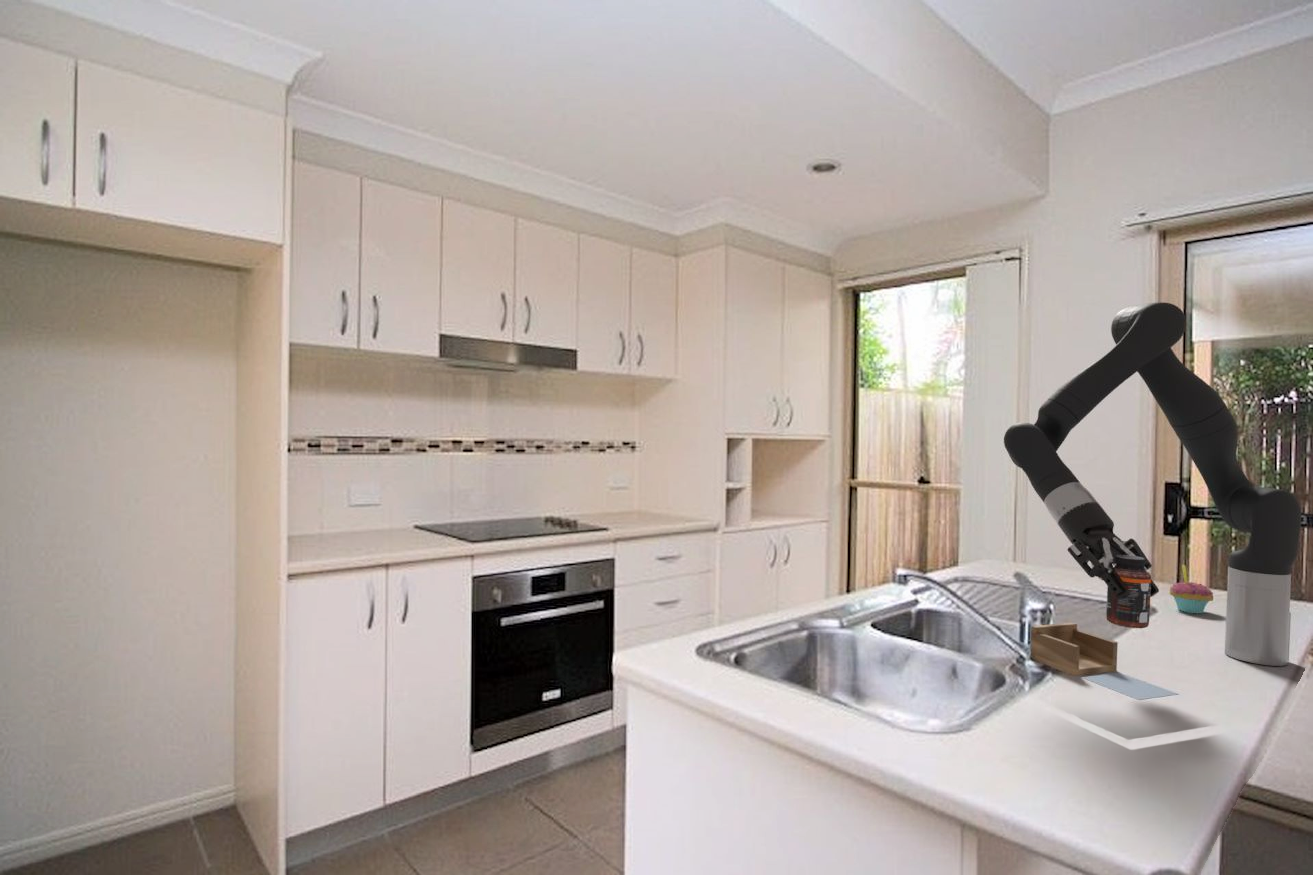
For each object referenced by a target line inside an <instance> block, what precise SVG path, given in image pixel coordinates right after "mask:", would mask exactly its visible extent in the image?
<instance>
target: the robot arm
mask: <svg viewBox="0 0 1313 875" xmlns="http://www.w3.org/2000/svg"><path fill="white" fill-rule="evenodd" d="M1186 318H1187V317H1186V316H1185V313H1184V311H1183V310H1182V309H1181V308H1180V307H1179V306H1177V305H1175V304H1173V303H1172V302H1171V303H1169V302H1162V301H1161V302H1160V301H1157V302H1149V303H1144V304H1138V305H1132V306H1128V307H1125V308H1124V309H1121V310H1120V311H1118V312H1117V313H1116V315H1115V316H1114V317H1113V319H1112V321H1111V322H1112V323H1111V325H1110V326H1111V327H1110V331H1111V333H1110V334H1111V337H1112V339H1113V341H1114V344H1115V346H1114V347H1112V348H1111V349H1110V350H1109V351H1108V352H1107V353H1106V354H1104V355H1103V356H1102V357H1100V358H1099V359H1098V360H1095V361H1094V362H1093V363H1091V364H1090V365H1088V366H1087V367H1085V368H1084V369H1082V370H1080V371H1079V372H1077V373H1076V374H1074V375H1073V376H1072V377H1071V378H1069V379H1067V381H1065V382H1064V383H1063V384H1062V385H1061V386H1060V387H1058V389H1056V390H1055V392H1054V393H1053V394H1051V395H1050V397H1049V398H1047V400H1045V401H1044V402H1043V404H1041V406H1040V407H1039V409H1038V412H1037V419H1036V421H1035V422H1034V424H1033V423H1030V422H1017V423H1015V424H1013V425H1011V426H1010V427H1009V428H1007V430H1006V431H1005V433H1004V437H1003V444H1004V448H1005V449H1006V452H1007V453H1008V456H1009V457H1010V459H1011V461H1012V463H1013V464H1014V465H1015V466H1016V467H1018V468H1020V469H1022V471H1023V472H1024V474H1026V477H1028V480H1029V482H1030V484H1031V487H1032V488H1033V490H1034V491H1035V493H1036V494H1037V495H1038V497H1039V498H1040V499H1041V501H1042V502H1043V503H1044V506H1045V507H1046V508H1047V510H1048V512H1049V514H1050V516H1051V517H1052V518H1053V520H1054V521H1055V522H1056V524H1057V525H1058V527H1059V528H1060V530H1061V531H1062V532H1063V534H1064V535H1065V537H1066V538H1067V539H1068V541H1069V542H1070V544H1071V545H1070V546H1069V547H1068V548H1067V552H1068V553H1069V554H1070V555H1071V557H1072V558H1073V559H1074V560H1075V561H1076V562H1077V564H1078V565H1079V566H1080V567H1081V568H1082V570H1083V571H1084V572H1085V573H1086V574H1087V576H1088V577H1089V578H1095V577H1096V578H1098V579H1099V580H1100V581H1103V582H1105V584H1106V586H1107V588H1108V587H1109V588H1110V590H1111V591H1112V592H1113V594H1114V595H1115V596H1116V597H1117V598H1118V599H1124V598H1125V597H1126V596H1128V595H1129V594H1130V590H1129V589H1128V588H1127V586H1126V585H1125V584H1124V582H1123V581H1122V580H1121V578H1120V577H1119V576H1118V574H1117V573H1114V572H1115V571H1114V568H1113V567H1115V565H1116V562H1115V561H1116V556H1117V555H1130V556H1137V557H1142V558H1144V559H1145V566H1144V567H1145V570H1146V571H1147V572H1148V570H1149V569H1151V568H1152V567H1153V566H1152V563H1151V562H1150V560H1149V559H1148V558H1147V556H1146V555H1145V553H1144V552H1143V550H1142V548H1141V547H1140V545H1139V543H1138V542H1137V541H1136V540H1135V539H1133V538H1129V539H1127V540H1122V539H1121V538H1120V537H1118V535H1116V534H1115V533H1114V527H1115V526H1114V525H1115V522H1114V521H1113V520H1112V519H1111V517H1110V515H1108V514H1107V512H1106V510H1105V509H1104V508H1103V507H1102V506H1101V504H1100V503H1099V501H1097V500H1096V498H1095V497H1094V495H1093V494H1092V493H1091V492H1090V491H1089V490H1088V489H1087V488H1086V486H1084V485H1083V484H1082V483H1081V482H1080V481H1079V479H1078V478H1077V477H1076V475H1075V474H1074V473H1073V472H1072V470H1071V469H1070V468H1069V467H1068V466H1067V465H1066V464H1065V462H1064V461H1063V460H1062V459H1061V457H1060V456H1059V454H1058V453H1057V451H1058V450H1059V448H1060V447H1061V446H1062V444H1063V443H1064V442H1065V440H1066V439H1067V437H1068V435H1069V434H1070V432H1071V431H1072V430H1073V429H1074V428H1075V427H1076V426H1078V424H1079V423H1080V422H1081V421H1082V420H1084V418H1086V417H1087V416H1088V415H1089V414H1090V413H1091V412H1092V411H1093V410H1094V409H1095V408H1096V407H1097V406H1098V405H1099V404H1100V403H1101V402H1102V401H1103V400H1104V399H1106V397H1108V396H1109V395H1110V394H1111V393H1112V392H1113V391H1115V390H1116V389H1117V388H1119V386H1120V385H1122V384H1123V383H1124V382H1125V381H1127V380H1128V379H1129V378H1130V377H1132V376H1133V375H1134V374H1136V373H1138V374H1139V376H1140V377H1141V378H1142V380H1143V381H1144V383H1145V385H1146V386H1147V388H1148V390H1149V392H1150V393H1151V394H1152V396H1153V398H1154V400H1155V401H1156V402H1157V404H1158V406H1159V408H1160V409H1161V411H1162V413H1163V415H1165V417H1166V419H1167V422H1168V423H1169V425H1170V427H1171V428H1172V429H1173V431H1174V433H1175V434H1176V436H1177V437H1178V439H1179V441H1180V442H1181V443H1182V445H1183V447H1184V448H1185V450H1186V451H1187V454H1189V457H1190V458H1191V460H1192V462H1193V464H1194V465H1195V467H1196V468H1197V470H1198V472H1199V474H1200V475H1201V477H1202V479H1203V481H1204V483H1205V485H1206V488H1207V489H1208V492H1209V494H1210V496H1211V498H1212V502H1213V503H1214V505H1215V507H1216V509H1217V512H1218V513H1219V515H1220V518H1221V519H1222V520H1223V522H1225V523H1226V525H1228V526H1229V527H1230V528H1231V529H1233V530H1235V531H1238V532H1240V533H1241V532H1242V533H1246V534H1250V538H1249V542H1248V545H1247V546H1246V547H1245V548H1243V549H1239V550H1235V551H1231V552H1230V553H1229V555H1228V564H1227V588H1226V589H1227V590H1226V592H1227V593H1226V609H1225V610H1226V612H1225V614H1226V615H1225V632H1224V633H1225V635H1224V654H1225V655H1227V656H1228V657H1231V658H1234V659H1236V660H1239V661H1243V662H1248V663H1252V664H1257V665H1263V666H1273V667H1279V666H1280V667H1283V666H1286V665H1288V662H1289V661H1290V644H1291V643H1290V641H1291V620H1292V617H1291V616H1292V613H1291V611H1290V607H1291V589H1292V588H1291V587H1292V586H1291V585H1292V581H1291V580H1292V569H1293V565H1294V563H1295V562H1296V559H1297V557H1298V552H1299V544H1300V535H1301V527H1302V510H1301V509H1302V508H1301V504H1300V502H1299V501H1298V500H1299V499H1297V498H1296V496H1295V495H1294V494H1293V493H1291V492H1289V491H1288V490H1285V489H1280V488H1273V487H1263V486H1261V487H1260V486H1255V485H1253V483H1252V482H1251V481H1250V480H1249V478H1248V477H1247V475H1246V474H1245V473H1244V471H1243V469H1242V467H1241V466H1240V463H1239V460H1238V458H1237V457H1238V456H1237V451H1238V444H1239V443H1238V442H1239V427H1238V425H1237V422H1236V420H1235V417H1234V416H1233V414H1232V412H1231V411H1230V409H1229V408H1228V406H1227V405H1226V403H1225V401H1224V400H1223V399H1222V397H1221V396H1220V395H1219V393H1218V392H1217V390H1215V389H1214V388H1213V387H1212V386H1211V385H1209V384H1208V383H1207V382H1206V381H1204V380H1203V379H1202V378H1201V377H1200V376H1198V375H1196V373H1195V372H1193V371H1192V370H1190V369H1189V367H1187V366H1186V365H1184V363H1183V362H1181V360H1180V359H1179V358H1178V356H1177V355H1176V354H1175V352H1174V350H1173V349H1172V347H1173V346H1175V345H1176V344H1177V343H1178V342H1179V341H1180V340H1181V339H1182V337H1183V336H1184V334H1185V331H1186V328H1187V327H1186V326H1187V320H1186ZM1089 562H1090V563H1091V566H1090V565H1089ZM1113 573H1114V574H1113ZM1159 592H1160V589H1159V587H1158V585H1156V583H1155V582H1154V581H1153V580H1152V578H1151V594H1150V598H1152V597H1154V596H1155V595H1157V594H1158V593H1159Z"/></svg>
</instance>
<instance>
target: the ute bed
mask: <svg viewBox="0 0 1313 875" xmlns="http://www.w3.org/2000/svg"><path fill="white" fill-rule="evenodd" d="M1030 634H1031V636H1030V658H1032V659H1033V660H1032V659H1031V660H1032V661H1036V662H1037V663H1040V664H1043V665H1045V666H1048V667H1050V668H1052V669H1055V670H1058V671H1060V672H1063V673H1066V674H1068V675H1071V676H1073V677H1075V676H1076V677H1077V676H1085V675H1095V674H1101V673H1102V674H1103V673H1108V672H1109V673H1110V672H1117V670H1118V669H1117V667H1118V661H1117V660H1118V647H1119V646H1118V645H1119V642H1117V641H1115V640H1112V639H1108V638H1105V637H1102V636H1099V635H1096V634H1093V633H1089V632H1087V631H1084V630H1081V629H1078V623H1076V622H1063V623H1050V624H1041V625H1031V632H1030Z"/></svg>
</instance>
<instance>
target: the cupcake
mask: <svg viewBox="0 0 1313 875" xmlns="http://www.w3.org/2000/svg"><path fill="white" fill-rule="evenodd" d="M1181 567H1182V576H1183V582H1177V583H1174V584H1173V585H1172V586H1170V588H1169V595H1170V596H1172V597H1173V598H1174V600H1175V602H1176V607H1177V609H1178V610H1179V611H1180V610H1181V611H1180V612H1182V611H1184V612H1183V613H1187V614H1193V613H1197V614H1198V613H1202V614H1203V613H1204V610H1205V608H1206V606H1207V604H1208V603H1209V602H1212V601H1213V600H1214V595H1213V594H1214V593H1213V592H1212V590H1211V589H1209V588H1208V587H1207V586H1205V585H1204V584H1202V583H1197V582H1189V581H1188V574H1187V568H1186V565H1185V564H1184V561H1183V562H1182V566H1181ZM1197 614H1196V615H1197ZM1198 615H1199V614H1198Z"/></svg>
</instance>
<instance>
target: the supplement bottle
mask: <svg viewBox="0 0 1313 875" xmlns="http://www.w3.org/2000/svg"><path fill="white" fill-rule="evenodd" d="M1115 562H1116V565H1115V566H1113V568H1114V571H1115V572H1114V573H1117V574H1118V576H1119V577H1120V578H1121V580H1122V581H1123V582H1124V584H1125V585H1126V586H1127V588H1128V589H1129V590H1130V594H1129V595H1128V596H1126V597H1125V598H1124V599H1118V598H1117V597H1116V596H1115V595H1114V594H1113V592H1112V591H1111V590H1110V588H1109V587H1108V586H1107V590H1106V613H1105V614H1106V617H1105V618H1106V620H1107V621H1108V622H1109V623H1110V624H1113V625H1115V626H1119V627H1123V628H1129V629H1130V628H1131V629H1145V628H1148V626H1149V624H1150V612H1151V610H1150V609H1151V597H1150V594H1151V579H1152V575H1151V574H1150V573H1149V571H1148V570H1147V571H1146V570H1145V567H1144V566H1145V559H1144V558H1142V557H1137V556H1130V555H1117V556H1116V561H1115ZM1114 573H1113V574H1114Z"/></svg>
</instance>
